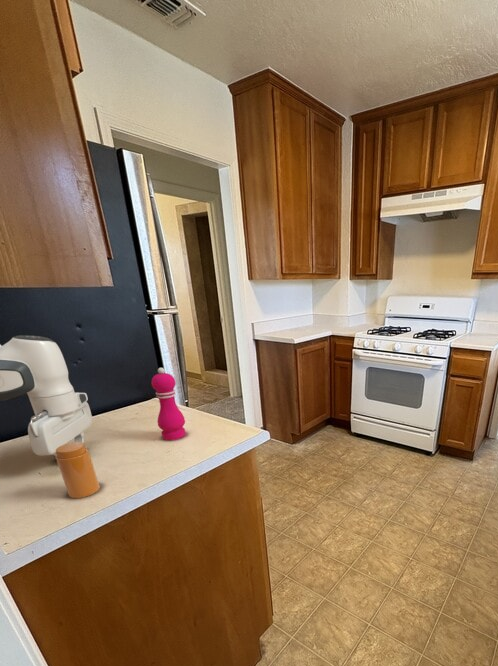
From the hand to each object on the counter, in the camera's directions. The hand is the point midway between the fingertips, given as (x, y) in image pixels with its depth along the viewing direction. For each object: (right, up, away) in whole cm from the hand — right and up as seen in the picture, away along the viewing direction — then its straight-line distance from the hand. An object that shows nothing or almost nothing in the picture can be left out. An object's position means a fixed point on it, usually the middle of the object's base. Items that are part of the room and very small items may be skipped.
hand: (72, 455), depth 90 cm
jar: (+13, -7, -15) cm, 21 cm away
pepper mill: (+21, +5, +12) cm, 25 cm away
